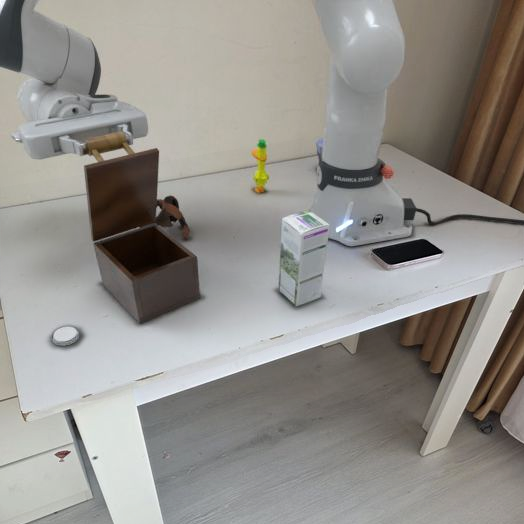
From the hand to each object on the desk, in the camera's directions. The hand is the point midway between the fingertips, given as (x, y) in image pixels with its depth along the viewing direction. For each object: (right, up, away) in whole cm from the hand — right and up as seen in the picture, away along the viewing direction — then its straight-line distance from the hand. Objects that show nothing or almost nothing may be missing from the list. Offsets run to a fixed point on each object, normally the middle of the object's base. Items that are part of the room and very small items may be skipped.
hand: (107, 145), depth 75 cm
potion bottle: (+41, +15, +52) cm, 68 cm away
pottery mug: (+4, -7, +26) cm, 28 cm away
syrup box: (+30, -22, +12) cm, 39 cm away
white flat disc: (-7, -30, +2) cm, 30 cm away
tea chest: (+4, -21, +11) cm, 24 cm away
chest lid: (+2, -7, +3) cm, 8 cm away
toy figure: (+23, +7, +42) cm, 48 cm away
